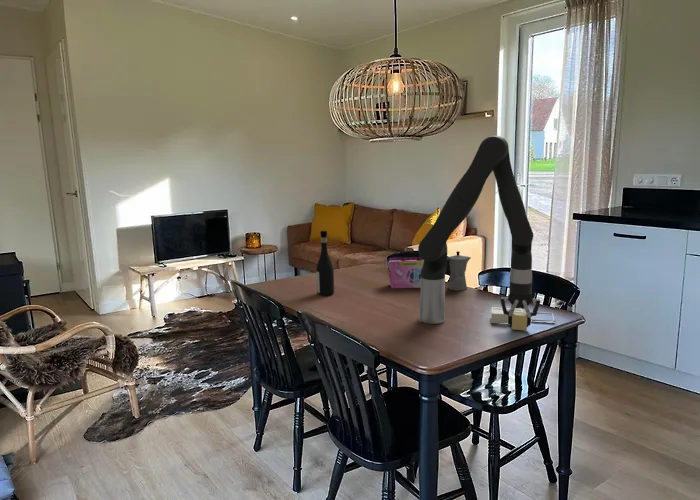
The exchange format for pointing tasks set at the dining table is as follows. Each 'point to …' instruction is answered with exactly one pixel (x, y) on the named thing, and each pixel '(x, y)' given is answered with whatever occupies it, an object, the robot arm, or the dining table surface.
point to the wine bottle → (324, 270)
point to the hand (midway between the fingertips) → (519, 325)
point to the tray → (541, 319)
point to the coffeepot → (457, 272)
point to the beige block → (519, 320)
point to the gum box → (405, 272)
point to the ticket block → (500, 315)
